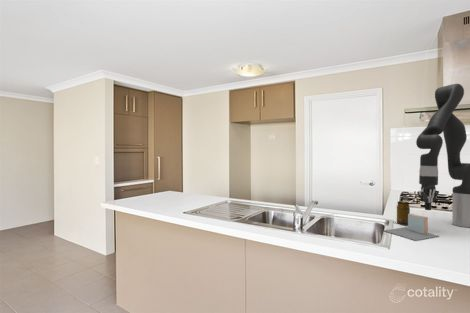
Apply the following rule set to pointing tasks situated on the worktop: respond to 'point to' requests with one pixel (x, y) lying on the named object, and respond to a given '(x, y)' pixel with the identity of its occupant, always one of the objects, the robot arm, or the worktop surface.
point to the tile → (418, 223)
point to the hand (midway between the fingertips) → (427, 209)
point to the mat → (410, 234)
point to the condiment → (403, 212)
